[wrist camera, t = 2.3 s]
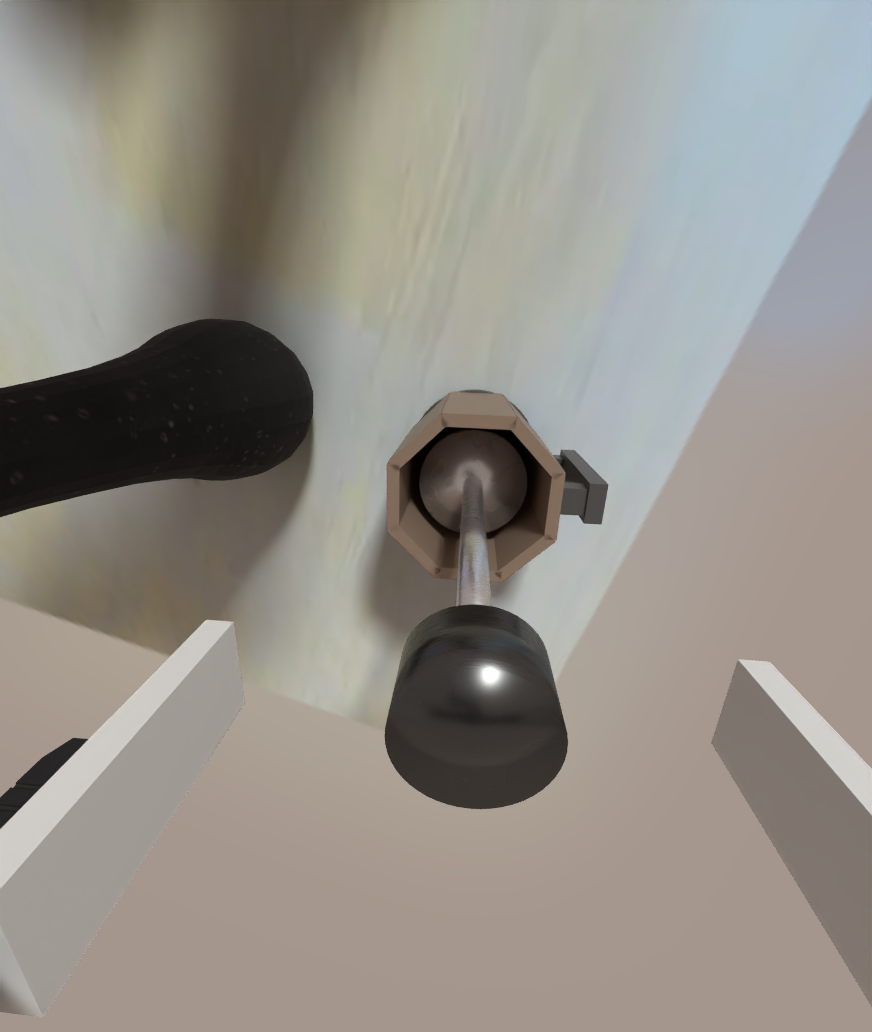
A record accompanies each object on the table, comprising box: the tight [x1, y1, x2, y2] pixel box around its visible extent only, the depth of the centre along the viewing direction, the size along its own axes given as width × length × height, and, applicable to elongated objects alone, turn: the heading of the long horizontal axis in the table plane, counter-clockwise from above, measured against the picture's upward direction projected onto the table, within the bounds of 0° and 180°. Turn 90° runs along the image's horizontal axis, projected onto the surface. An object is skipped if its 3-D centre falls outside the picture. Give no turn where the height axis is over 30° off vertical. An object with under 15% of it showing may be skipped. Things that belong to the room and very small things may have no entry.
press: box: [387, 390, 608, 582], centre depth 31 cm, size 10×12×13 cm
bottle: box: [0, 319, 313, 517], centre depth 23 cm, size 11×11×30 cm
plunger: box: [385, 429, 568, 809], centre depth 20 cm, size 7×7×21 cm
